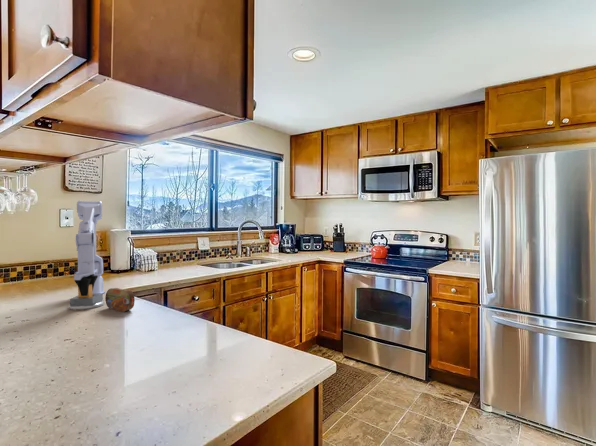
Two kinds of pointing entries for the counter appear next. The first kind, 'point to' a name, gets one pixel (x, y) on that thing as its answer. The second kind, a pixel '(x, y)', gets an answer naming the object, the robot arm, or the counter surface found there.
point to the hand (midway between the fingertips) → (86, 294)
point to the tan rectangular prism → (88, 292)
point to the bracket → (86, 302)
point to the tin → (119, 299)
